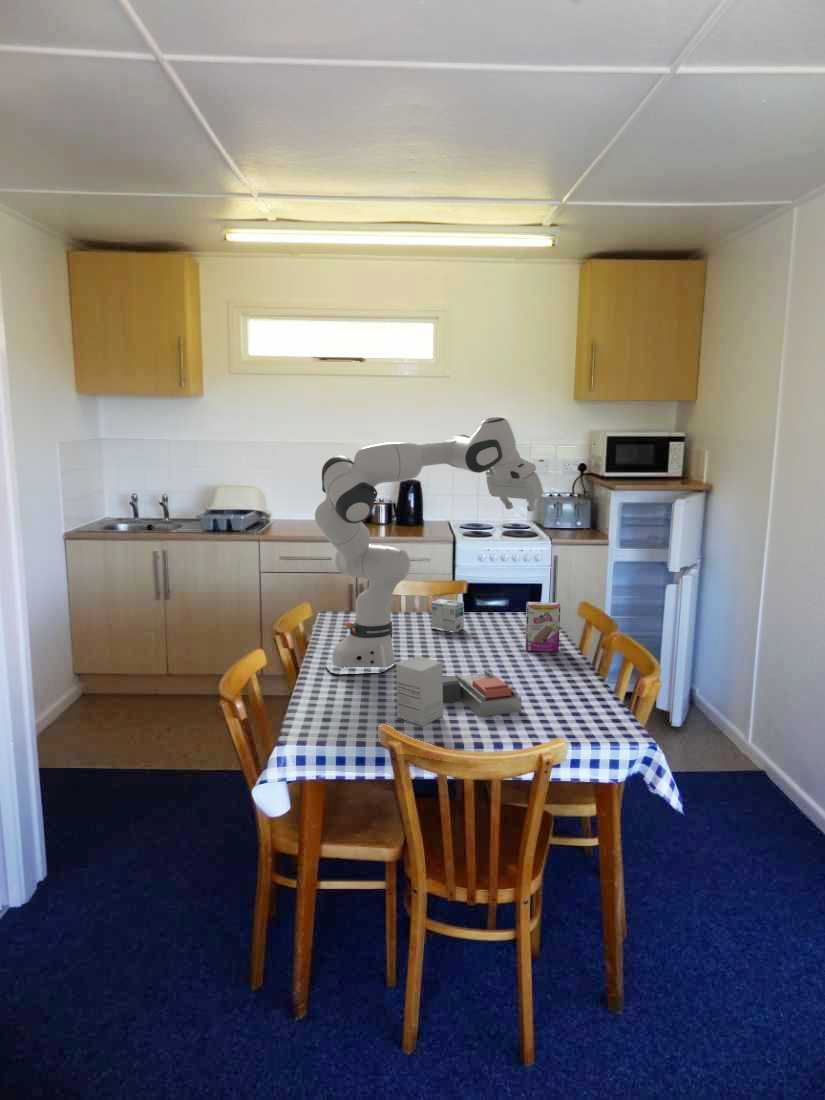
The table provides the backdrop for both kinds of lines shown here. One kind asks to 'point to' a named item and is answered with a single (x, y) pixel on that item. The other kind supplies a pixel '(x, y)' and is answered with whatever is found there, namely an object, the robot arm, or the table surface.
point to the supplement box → (420, 690)
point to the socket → (483, 704)
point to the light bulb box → (447, 614)
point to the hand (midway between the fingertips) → (520, 509)
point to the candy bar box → (542, 627)
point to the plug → (451, 689)
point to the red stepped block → (492, 687)
